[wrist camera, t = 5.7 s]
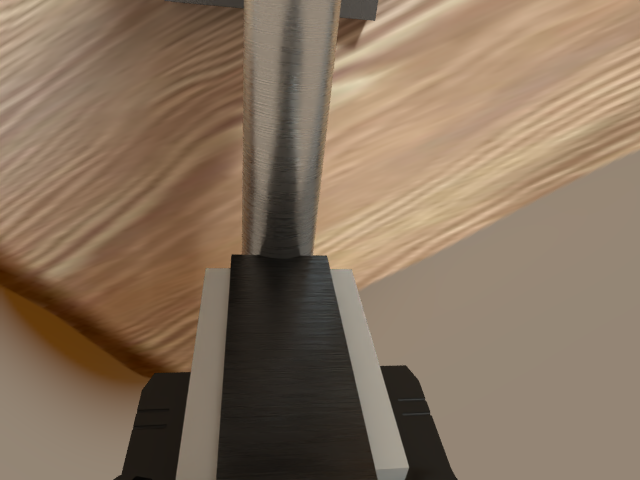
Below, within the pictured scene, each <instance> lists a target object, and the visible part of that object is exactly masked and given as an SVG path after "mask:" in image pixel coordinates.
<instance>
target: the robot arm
mask: <svg viewBox="0 0 640 480" xmlns="http://www.w3.org/2000/svg"><path fill="white" fill-rule="evenodd" d="M230 271H231V268H206V270H205V277H204V284H203V291H202V298H201V305H200V312H199V319H198V326H197V333H196V340H195V347H194V354H193V361H192V368H191V372H180V373H154V375H153V376H152V378H151V379H150V380H149V382H148V383H147V384H146V386H145V387H144V388H143V390H142V392H141V397H140V401H139V405H138V409H137V414H136V417H135V421H134V427H133V430H132V434H131V438H130V442H129V446H128V450H127V454H126V458H125V462H124V466H123V471H122V475H120V476H118V477H116V478H115V479H114V480H216V473H217V459H218V444H219V430H220V416H221V401H222V387H223V372H224V358H225V343H226V329H227V314H228V300H229V285H230ZM330 272H331V276H332V281H333V285H334V289H335V294H336V298H337V302H338V307H339V311H340V316H341V320H342V324H343V329H344V333H345V338H346V342H347V346H348V351H349V355H350V360H351V364H352V368H353V373H354V377H355V382H356V386H357V390H358V395H359V399H360V404H361V408H362V412H363V417H364V421H365V426H366V430H367V434H368V439H369V443H370V448H371V452H372V456H373V461H374V465H375V470H376V474H377V478H378V480H457V478H456V477H455V475H454V473H453V471H452V469H451V467H450V464H449V462H448V459H447V456H446V453H445V451H444V448H443V446H442V443H441V440H440V437H439V434H438V432H437V429H436V426H435V424H434V421H433V418H432V416H431V415H430V410H429V407H428V405H427V402H426V401H425V397H424V394H423V391H422V388H421V385H420V383H419V381H418V379H417V378H416V377H415V376H414V374H413V373H412V372H411V371H410V370H409V369H408V367H407V366H379V363H378V359H377V355H376V352H375V348H374V345H373V341H372V338H371V335H370V331H369V328H368V324H367V321H366V317H365V314H364V310H363V307H362V303H361V300H360V296H359V293H358V290H357V286H356V283H355V279H354V276H353V272H352V269H330Z"/></svg>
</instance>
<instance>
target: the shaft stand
mask: <svg viewBox="0 0 640 480" xmlns="http://www.w3.org/2000/svg"><path fill="white" fill-rule="evenodd" d="M164 1H171V2H182V3H192V4H203V5H213V6H224V7H235V8H244V0H164ZM377 4H378V0H341V7H340V16H339V17H341V18H352V19H362V20H373V21H375V18H376V11H377Z"/></svg>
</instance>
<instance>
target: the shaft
mask: <svg viewBox="0 0 640 480" xmlns="http://www.w3.org/2000/svg"><path fill="white" fill-rule="evenodd" d="M340 7H341V0H244V66H243V187H242V255H232V256H231V271H230V285H229V300H228V314H227V329H226V343H225V358H224V372H223V387H222V401H221V416H220V430H219V444H218V459H217V473H216V480H378V478H377V474H376V470H375V465H374V461H373V456H372V452H371V448H370V443H369V439H368V434H367V430H366V426H365V421H364V417H363V412H362V408H361V404H360V399H359V395H358V390H357V386H356V382H355V377H354V373H353V368H352V364H351V360H350V355H349V351H348V346H347V342H346V338H345V333H344V329H343V324H342V320H341V316H340V311H339V307H338V302H337V298H336V294H335V289H334V285H333V281H332V276H331V272H330V267H329V263H328V259H327V256H313V249H314V240H315V231H316V222H317V213H318V204H319V195H320V186H321V177H322V168H323V159H324V150H325V141H326V132H327V123H328V114H329V105H330V96H331V87H332V78H333V70H334V61H335V52H336V43H337V34H338V25H339V16H340Z"/></svg>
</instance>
